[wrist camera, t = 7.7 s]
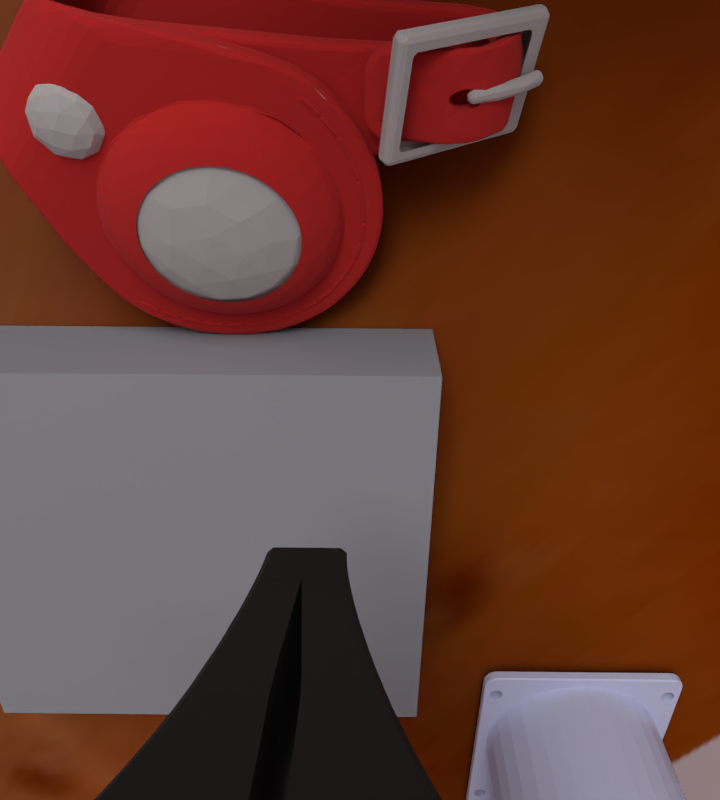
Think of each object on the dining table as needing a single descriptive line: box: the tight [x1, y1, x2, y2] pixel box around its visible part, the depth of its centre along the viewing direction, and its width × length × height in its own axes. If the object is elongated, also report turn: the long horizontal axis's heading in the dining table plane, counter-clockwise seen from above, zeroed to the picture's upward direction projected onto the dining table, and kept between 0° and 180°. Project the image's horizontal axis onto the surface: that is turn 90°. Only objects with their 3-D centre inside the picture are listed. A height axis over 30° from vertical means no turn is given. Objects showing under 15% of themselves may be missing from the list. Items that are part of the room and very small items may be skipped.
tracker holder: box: [0, 0, 550, 334], centre depth 16 cm, size 12×4×10 cm
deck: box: [0, 326, 442, 717], centre depth 22 cm, size 14×15×3 cm
